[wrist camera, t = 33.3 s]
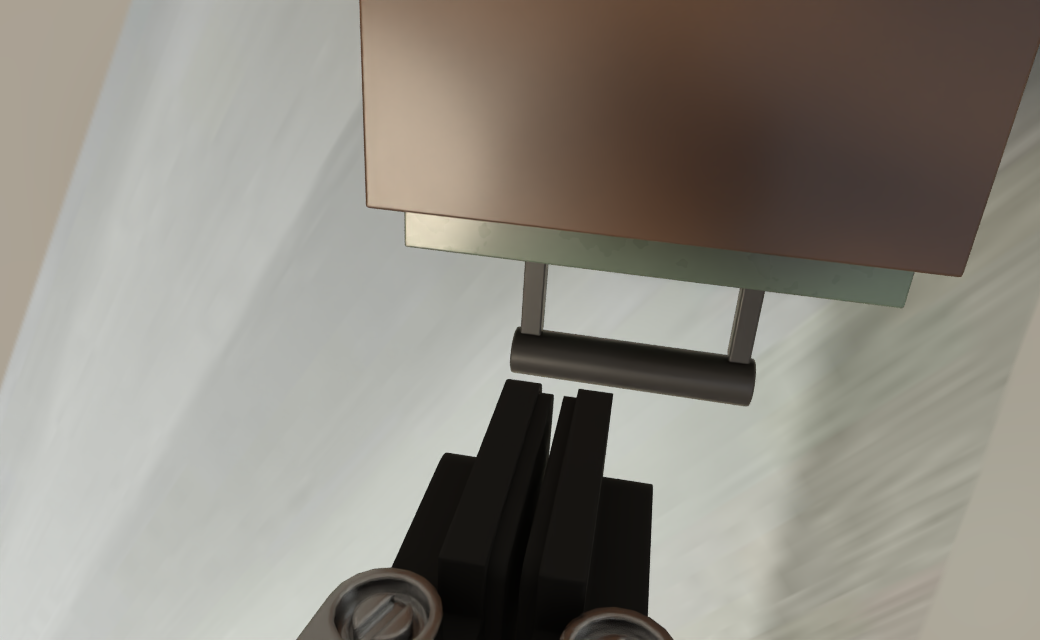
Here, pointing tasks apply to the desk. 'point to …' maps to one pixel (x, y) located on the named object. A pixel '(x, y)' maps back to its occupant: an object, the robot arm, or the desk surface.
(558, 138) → the cabinet
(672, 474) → the desk surface
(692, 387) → the drawer
